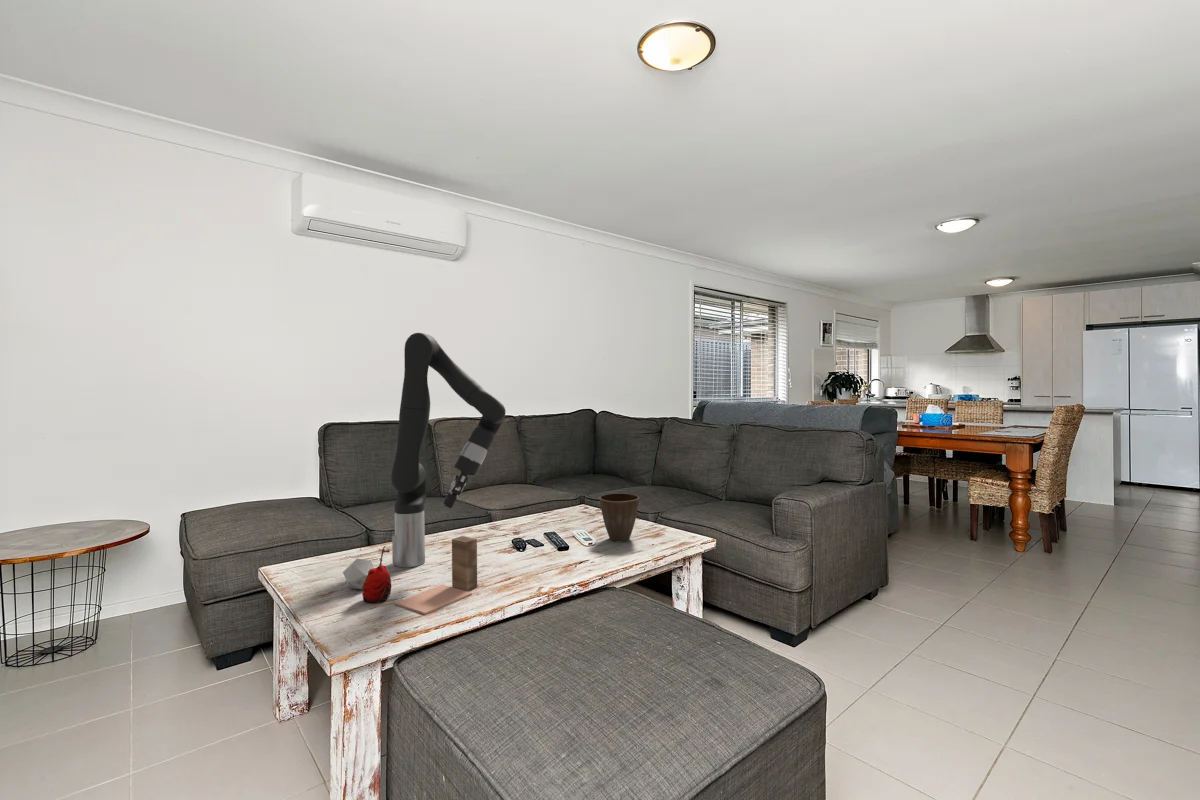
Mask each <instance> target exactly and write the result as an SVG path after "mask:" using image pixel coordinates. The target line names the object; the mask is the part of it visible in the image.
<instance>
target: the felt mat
mask: <svg viewBox="0 0 1200 800" xmlns="http://www.w3.org/2000/svg"><path fill="white" fill-rule="evenodd" d="M472 593H473V592H471V591H464V590H460V589H457V588H453V587H452V586H449V585H447V584H446V585H445V584H440V585H438V586H436V587H433V588H429V589H428V590H424V591H421V592H420V593H417V594H415V595H411V596H409V597H407V598H404V599H401V600H399V601H396V602H395V603H394V604H395V605H396V606H398V607H401V608H403V609H407V610H409V611H413V612H415V613H418V614H422V615H424V616H425V615H428V614H430V613H432V612H435V611H437V610H440V609H442V608H444V607H446V606H448V605H449V606H450V605H451V604H454V603H456V602H458V601H460V600H463V599H465V598H467V597H470V596H472V595H473V594H472Z"/></svg>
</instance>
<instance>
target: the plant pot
mask: <svg viewBox="0 0 1200 800" xmlns="http://www.w3.org/2000/svg"><path fill="white" fill-rule="evenodd" d="M639 499H640V497H639V496H638V495H636V494H632V493H623V492H621V493H619V492H618V493H609V494H608V493H607V494H603V495H601V496H599V503H600V509H601V510H600V511H601V514H602V519H603V522H604V526H605V529H606V533H607V535H608V538H609V540H610V541H611V542H616V541H624V542H627V540H628V541H629V540H630V539H631V535H632V532H633V529H634V527H635V523H636V519H637V514H638V507H639Z"/></svg>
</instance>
